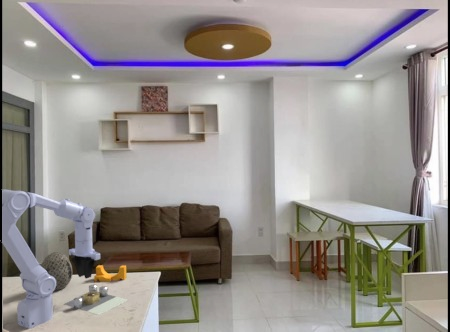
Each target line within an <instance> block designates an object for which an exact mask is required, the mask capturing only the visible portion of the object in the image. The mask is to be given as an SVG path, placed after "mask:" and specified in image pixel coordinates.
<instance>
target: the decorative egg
mask: <svg viewBox="0 0 450 332" xmlns="http://www.w3.org/2000/svg"><path fill="white" fill-rule="evenodd" d="M71 262H72V261H70V259H69V258H68V256H67V255H66V254H64V253H62V252H58V251H55V252H51V253H50V254H48V255H47V256H45V257H44V259H43V260H42V263H41V265H40V266H41V267H42V268H44V269H45V270H46V271H47V272H48V274H49V275H50V276H53V277H54V278H55V279H56V288H55V290H54V291H60V290H62V289H64V288H66V287H67V286H68V285H69V284H70V282H71V281H72V278H73V266H72V263H71ZM54 291H53V292H54Z"/></svg>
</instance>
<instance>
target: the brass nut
mask: <svg viewBox="0 0 450 332" xmlns="http://www.w3.org/2000/svg"><path fill="white" fill-rule="evenodd" d="M98 292H99V291H97V292H89V291H88V292H86V293H84V294H82V296H83V302H84V305H86V304H95V303H97V302H99V293H98Z"/></svg>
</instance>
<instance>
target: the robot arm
mask: <svg viewBox="0 0 450 332" xmlns="http://www.w3.org/2000/svg"><path fill="white" fill-rule="evenodd" d="M1 190H2V242H1V243H2V245H3V246H4V248H5V250H6V251H7V253H8V254H9V256H10V257H11V259H12V261H13V262H14V264H15V265H16V267H17V268H18V270H19V271H20V274H19V278H20V279H21V286H22V288H23V290H24V291H26V297H25V298H24V299H22V300H21V301H19V302H18V303H17V309H16V312H17V315H16V316H17V325H18V326H21V327H23V328H26V329H28V330H29V329H32V328H34V327H37V326H39V325H41V324H45V323H47V322H49V321H51V320H52V319H53V318H54V312H53V311H54V308H53V304H54V303H53V292H54V290H55V288H56V279H55V278H54V277H53V276H50V275H49V274H48V272H47V271H46V270H45V269H44V268H42V267H41V265H40V263H39V262H38V260H37V259H36V257H35V255H34V253H33V252H32V250H31V248H30V247H29V245H28V243H27V242H26V240H25V238H24V237H23V235H22V233H21V232H20V230H19V228H18V227H17V222H18V220H19V219H20V217H21V216H22V215H23V214H24V213H25V211H26V210H27V209H28V208H33V207H34V206H35V207H38V208H43V209H46V210H50V211H53V212H54V214H55V216H56V217H60V218H65V219H68V220H71V221H73V222H74V245H75V246H74V248H71V249H68V255H69V256H73V257H71V262H72V263H73V265H74V266H75V269H76V273H77V276H78V277H79V278H81V277H84V278H85V279H89V278H91V277H92V274H93V271H94V270H93V269H94V266H95V264H96V262H97V261H98V260H101V253H100V252H98V251H95V248H93V224H94V223H93V222H94V220H95V218H96V213H95V212H94V211H95V210H93V208H92V207H90V206H83V203H80V202H78V203H76V202H73V201H71V199H69V198H65V199H63V198H62V199H59V200H58V201H56V200H55V199H51V198H48V197H45V196H43V195H40V194H38V193H35V192H34V193H33V192H27V191H26V192H25V191H23V190H10V189H5V188H4V189H1ZM55 291H56V290H55Z"/></svg>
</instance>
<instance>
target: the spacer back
mask: <svg viewBox="0 0 450 332" xmlns="http://www.w3.org/2000/svg"><path fill="white" fill-rule="evenodd" d="M88 292H98V285H97V283H96V284H93V283H92V284H90V285H88Z"/></svg>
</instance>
